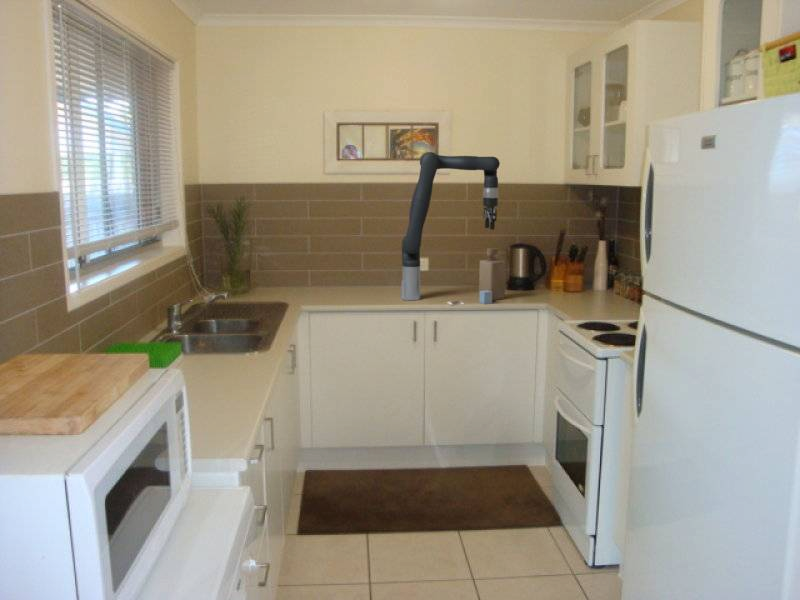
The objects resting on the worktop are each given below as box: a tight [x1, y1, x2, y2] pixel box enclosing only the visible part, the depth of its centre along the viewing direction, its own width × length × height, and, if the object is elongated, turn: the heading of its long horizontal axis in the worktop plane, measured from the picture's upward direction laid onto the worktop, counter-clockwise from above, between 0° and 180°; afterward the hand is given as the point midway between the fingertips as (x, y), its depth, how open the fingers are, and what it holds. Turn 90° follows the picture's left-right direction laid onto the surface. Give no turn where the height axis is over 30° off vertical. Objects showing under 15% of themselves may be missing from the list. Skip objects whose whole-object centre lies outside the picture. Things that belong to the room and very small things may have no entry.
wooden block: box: [478, 259, 507, 301], centre depth 364 cm, size 10×10×20 cm
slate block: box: [479, 290, 493, 305], centre depth 353 cm, size 4×4×6 cm
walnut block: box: [486, 247, 499, 261], centre depth 362 cm, size 4×4×6 cm
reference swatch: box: [446, 300, 465, 306], centre depth 353 cm, size 7×7×1 cm
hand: (489, 228), depth 361 cm, fingers open, 8 cm apart
